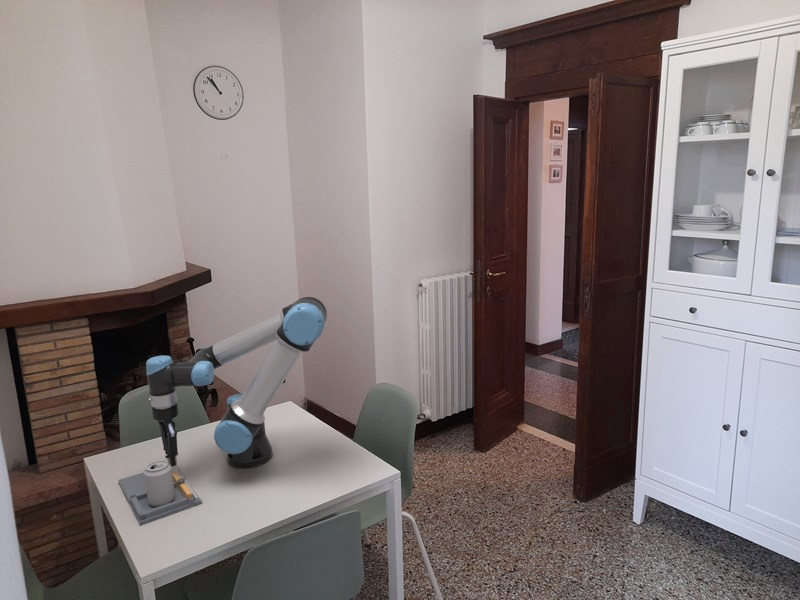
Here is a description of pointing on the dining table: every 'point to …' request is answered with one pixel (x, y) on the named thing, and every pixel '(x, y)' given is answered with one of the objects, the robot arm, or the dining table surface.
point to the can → (159, 483)
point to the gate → (182, 485)
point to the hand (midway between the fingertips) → (173, 473)
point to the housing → (148, 513)
